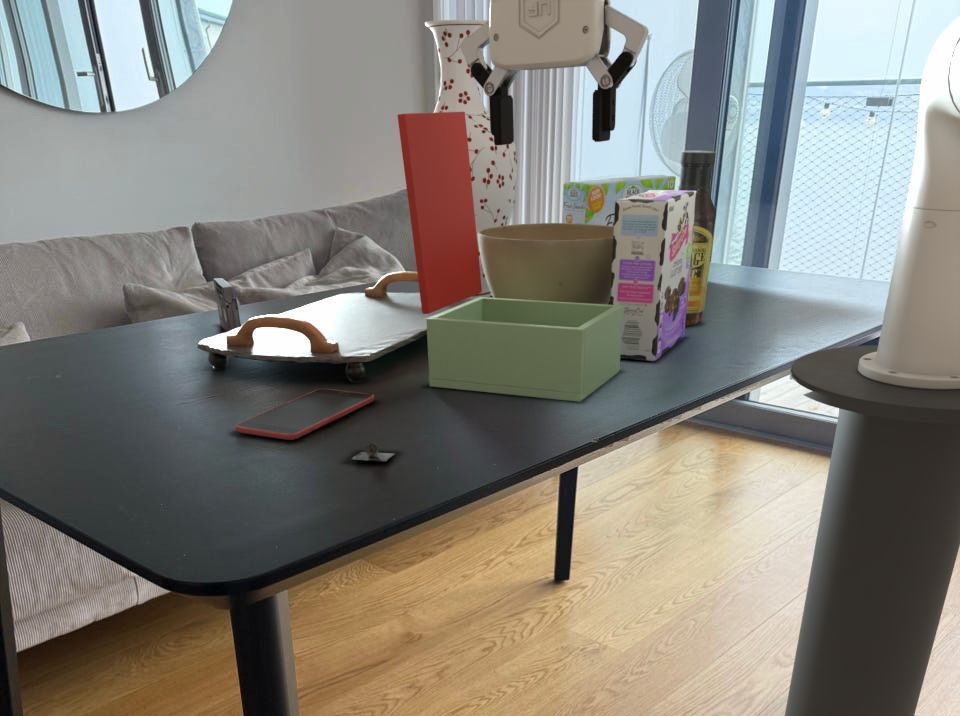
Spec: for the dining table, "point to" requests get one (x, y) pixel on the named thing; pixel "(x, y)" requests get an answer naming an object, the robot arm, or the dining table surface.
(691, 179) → the sauce bottle
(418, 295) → the serving tray
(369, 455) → the square plate with knob
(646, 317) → the candy box
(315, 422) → the smartphone
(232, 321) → the mini dv tape
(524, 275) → the flower pot
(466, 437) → the dining table surface
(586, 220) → the snack box
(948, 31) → the robot arm
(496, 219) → the vase
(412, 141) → the lid
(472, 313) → the open storage box
